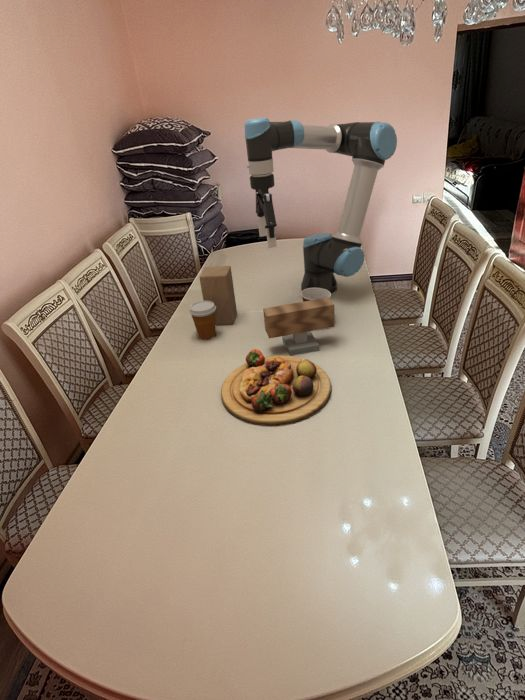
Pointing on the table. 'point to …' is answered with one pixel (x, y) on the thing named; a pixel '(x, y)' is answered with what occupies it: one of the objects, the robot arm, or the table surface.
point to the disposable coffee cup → (204, 319)
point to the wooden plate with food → (275, 389)
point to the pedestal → (300, 343)
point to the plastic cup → (314, 294)
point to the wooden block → (219, 292)
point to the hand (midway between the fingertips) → (267, 241)
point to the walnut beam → (299, 317)
